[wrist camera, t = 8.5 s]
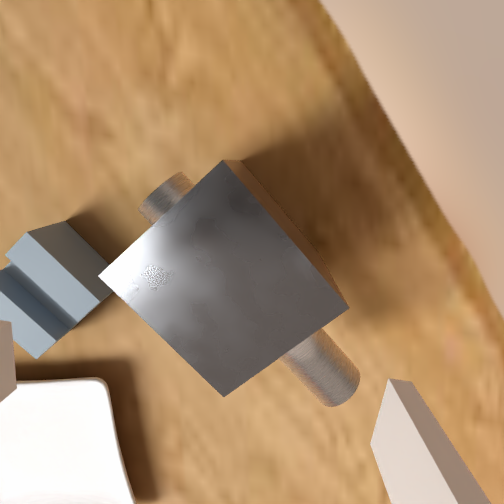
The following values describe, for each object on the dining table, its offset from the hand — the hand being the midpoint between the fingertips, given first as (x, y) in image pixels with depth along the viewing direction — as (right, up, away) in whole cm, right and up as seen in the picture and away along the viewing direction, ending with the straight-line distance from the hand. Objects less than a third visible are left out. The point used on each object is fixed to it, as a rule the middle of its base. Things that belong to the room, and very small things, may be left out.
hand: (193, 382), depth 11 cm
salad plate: (-22, -18, +28) cm, 40 cm away
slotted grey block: (+1, +6, +19) cm, 20 cm away
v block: (-17, +2, +21) cm, 27 cm away
